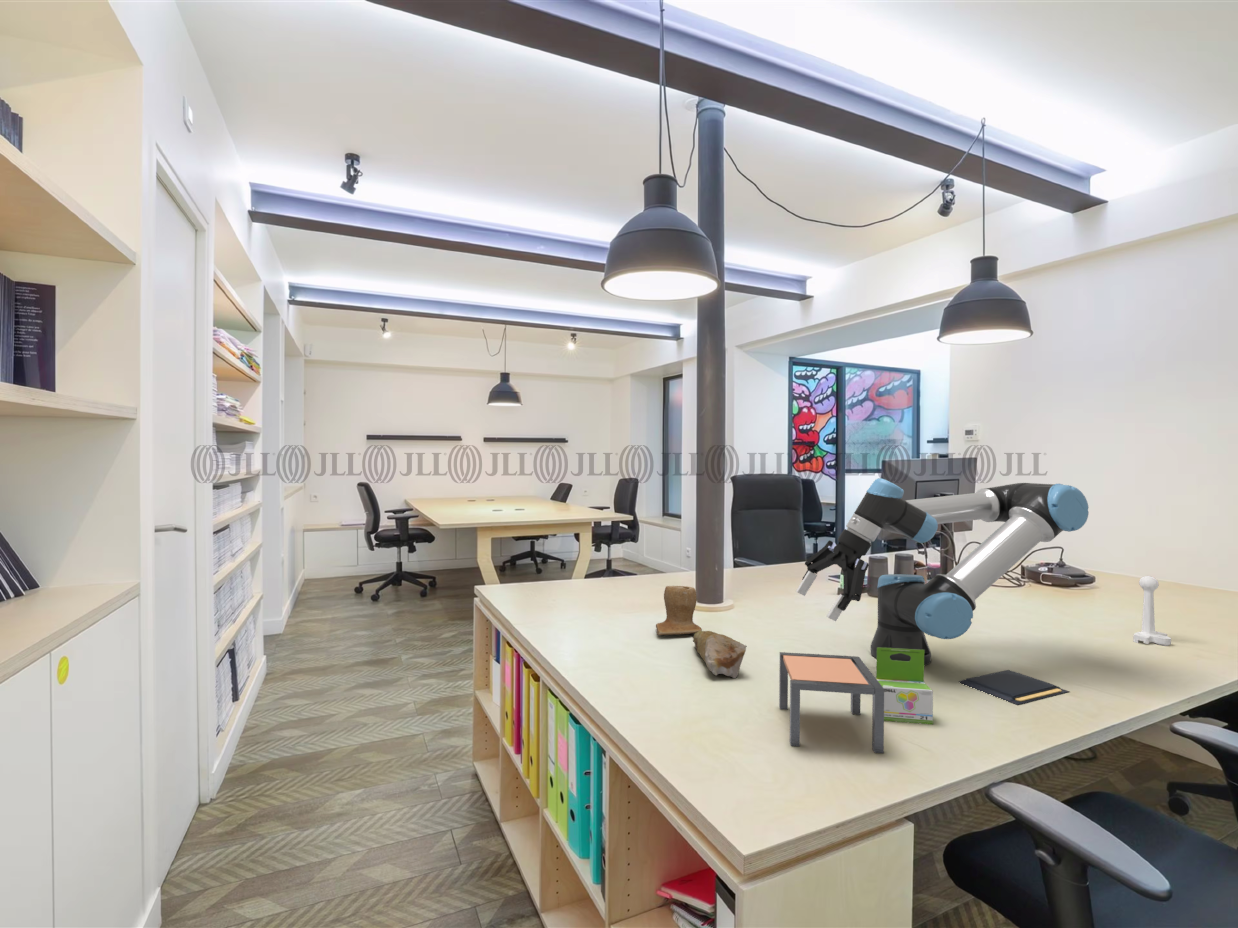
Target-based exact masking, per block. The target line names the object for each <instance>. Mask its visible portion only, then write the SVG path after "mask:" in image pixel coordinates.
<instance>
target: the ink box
mask: <svg viewBox="0 0 1238 928" xmlns="http://www.w3.org/2000/svg"><path fill="white" fill-rule="evenodd" d="M924 651H925V650H917V649H900V648H881V647H877V658H876V662H875V664H876V671H875V672H876V673H875V675H876V676H875V678H876V679H877V681H878V682H879V683H880V684H881V686H882V687H883V688H884V722H885V721H887V722H895V721H897V723H907V722H909V723H908V724H919V723H921V724H922V725H933V724H934V691H933V690H932V688H931V687H929V685H928V684H927V683H925V681H924V679H925V678H924V677H925V665H924ZM898 653H902V654H906V655H909V656H910V657H911V660H910V661H896V660H891V659H890V655H892V654H898Z"/></svg>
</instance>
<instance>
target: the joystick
mask: <svg viewBox="0 0 1238 928" xmlns="http://www.w3.org/2000/svg"><path fill="white" fill-rule="evenodd" d="M1138 584H1139V586H1140V588H1141V589H1142V590H1143V603H1142V606H1143V607H1142V617H1141V618H1142V619H1141V621H1142V622H1141V631H1136V632H1134V633H1133V636H1132V637H1133V640H1132V641H1133V642H1134V643H1137V644H1139V642H1143V644H1146V645H1147V644H1150V643H1153V644H1156V645H1159V646H1164V647H1169V646H1171V645H1172V638H1171V637H1169V636H1168V633H1165V632H1161V631H1156V625H1155V623H1156V620H1155V602H1154V601H1155V599H1154V592H1155V591H1156V590H1157V589H1158V588H1159V587H1160V583H1159V581H1158V579H1156V578H1155V577H1153V576H1151V575H1145V576H1142V577H1140V578H1139V581H1138Z"/></svg>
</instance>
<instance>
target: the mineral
mask: <svg viewBox="0 0 1238 928" xmlns="http://www.w3.org/2000/svg"><path fill="white" fill-rule="evenodd" d="M692 642H693V644H694V647H695V650H696V653H697V654H699V655H700V657H701V659H702V660H703V661H704V662H705V665H706V667H707V669H708V670H709V671H710V672H712V674H713V675H715V676H718V675H719V674H720V675H725V676H727V677H731V678H732V679H735V678H737V677H738V675H739V672H740V668H741V664H742V662H743V659H744V657H745V655H746V651H747V645H746V644H743V643H741V642H740V641H737V640H736V639H733V638H732V637H729V636H727V635H725V634H722V633H717V632H715V631H712V630H705V631H704V630H702V631H698V632H697V633H693V636H692Z"/></svg>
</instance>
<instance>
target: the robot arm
mask: <svg viewBox="0 0 1238 928" xmlns="http://www.w3.org/2000/svg"><path fill="white" fill-rule="evenodd" d="M904 494H905V490H904V489H903V488H901V487H900V486H898V485H897V484H895V483H893V482H892V481H889V480H887V479H885V478H881V477H880V478H875V480H874V481H873V482H872V483H871V485H870V486H869V488H868V489H867V490H866V493H865V494H864V496H863V498H862V499H861V501H860V503H858V505H857V508H856V509H855V511H854V512H853V514H852V516H851V517H850V519H849V520H848V522H847V523H846V528H845V529H843V530H842V532H841V533H840V535H839V536H838V537H837V542H838V544H837V543H836V542H834V541H832V540H827V542H826V544H825V545H824V546H823V547H822V548H821V549H819V550H818V551H817V552H816V553H814V554H813V555H812V556H810V557H809V558H808V559H807V560H806V561H805V562H804V565H805V566H806V567H807V570H806V572H805V573H804V575H803V576H802V581H801V582H800V584H799V585H798V587H797V589H796V591H795V592H796V593H798V594H799V595H802V596H804V597H805V596H806V594H807V592H808V591H809V590H810V588H811V586H812V585H813V584H814V581H815V580H816V579H817V577H818V573H819V572H821V571H823V570H825V569H828V568H830V567H831V566H833V565H837V566H838V567H839V568H841V571H842V573H843V581H842V583H843V587H842V588H843V592H842V593H839V595H838V596H837V598H836V599H835V602H834V603H833V605H832V607H831V608H830V609H829V611H828V613H827V614H826V617H827V618H828V619H829V620H832V621H833V622H837V620H838V619H839V617H840V616H841V614H842V613H843V612H845V611H846V609H847V607H848V606H849V604H850V603H851V602H852V601H856V602H860V601H861V599H862V593H863V587H864V582H865V577H866V572H867V570H868V568H869V567H870V563H868V562H867V561H865V560H863V559H862V557H863V556H866V555H867V553H868V551H869V550H870V548H871V547H872V543H873V542H875V540H877V537H878V536H879V534H880V533H881V531H882V532H883V531H884V532H889V533H892V534H898V535H901V536H902V535H904V536H906V537H907V538H909V539H910V540H911V541H915V542H917V543H918V544H919V543H921V544H923V543H927V542H929V541H930V540H931V539H933V538H934V537H935V534H936V532H937V531H938V529H939V528H938V527H939V525H941V524H951V523H960V522H962V523H963V522H968V521H969V522H970V521H977V520H978V521H979V520H981V521H983V522H984V523H985V522H986V523H993V522H995V523H996V522H998V523H999V522H1000V523H1001V522H1002V523H1003V524H1002V525H1000V526H999V527H998V528H997V529H996V530H995V531H994V532H993V533H992V534H990V535H989V536H988V537H987V538H986V539H985V540H984V541H983V542H981V543H980V544H979V545H977V547H976V548H974V549H973V550H971V552H970V553H969V554H968V555H966V556H965V557H964V558H963V559H962V560H961V561H960V562H959V563H958V564H957V565H955V566H954V567H953V568H952V569H951V570H950V571H948V572H947V573H946V574H943V573H942V574H941V573H936V574H935V575H934V576H933V577H932V578H930V579H929V580H928V581H927V582H926V580H925V578H924V576H923V575H919V574H903V573H902V574H900V573H896V574H895V573H893V574H889V573H888V574H882V575H880V576H879V577H878V580H877V588H876V589H877V627H876V630H875V633H874V635H873V638H872V641H871V644H870V655H871V656H872V657H874V658H875V659H877V647H881V648H900V649H917V650H925V651H924V666H926V665H929V664H931V663H932V653H931V650H930V646H929V643H928V640H927V637H926V635H928V636H929V637H935V638H938V639H941V640H952V639H953V640H954V639H956V638H960V637H961V636H963V635H964V634H965V633H966V632H968V630H969V629H970V627H971V626H972V623H973V622H972V619H973V618H974V611H975V610H976V608H977V606H976V600H977V599H978V598H979V597H980V596H981V595H982V594H984V592H986V591H987V590H988V589H989V588H990V587H991V586H992V585H994V583H996V582H997V581H998V580H999V579H1000V578H1001V577H1003V576H1004V575H1005V574H1006V573H1007V572H1008V571H1009V570H1010V569H1011V568H1013V567H1014V566H1015V565H1016V564H1017V563H1018V562H1019V561H1021V559H1022V558H1024V557H1025V556H1026V555H1027V554H1028V553H1029V552H1030V551H1031V550H1033V548H1035V547H1036V546H1037V545H1038V544H1039V543H1040V542H1043V543H1049V542H1051V541H1053V540H1054V539H1055V538H1056V537H1057V536H1058V535H1060V534H1061V533H1062V532H1074V531H1079V530H1080V529H1081V528H1083V527H1084V525H1085V524H1086V523H1087V520H1088V518H1089V503H1088V500H1087V497H1086V496H1085V495H1084V493H1083V492H1082V491H1081V490H1080V489H1079V488H1077V487H1075V486H1073V485H1069V484H1068V485H1067V484H1063V483H1055V484H1052V483H1050V484H1049V483H1035V482H1034V483H1033V482H1017V483H1009V484H1004V485H999V486H991V487H985V488H980V489H978V490H977V491H976V492H974V493H963V494H954V495H945V496H935V497H926V498H925V497H924V498H916V499H907V500H905V499H903V496H904ZM871 542H872V543H871ZM890 659H891V660H896V661H910V660H911V657H910V656H909V655H906V654H902V653H898V654H892V655H890Z"/></svg>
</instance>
